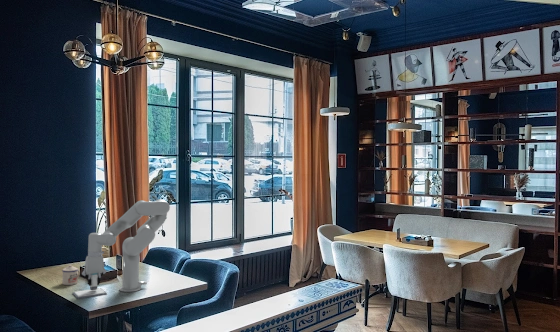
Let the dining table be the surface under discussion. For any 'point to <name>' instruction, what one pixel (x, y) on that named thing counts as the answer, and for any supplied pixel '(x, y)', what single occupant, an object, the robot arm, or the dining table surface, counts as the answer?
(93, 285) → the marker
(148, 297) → the dining table surface
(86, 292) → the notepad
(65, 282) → the teacup with lid
